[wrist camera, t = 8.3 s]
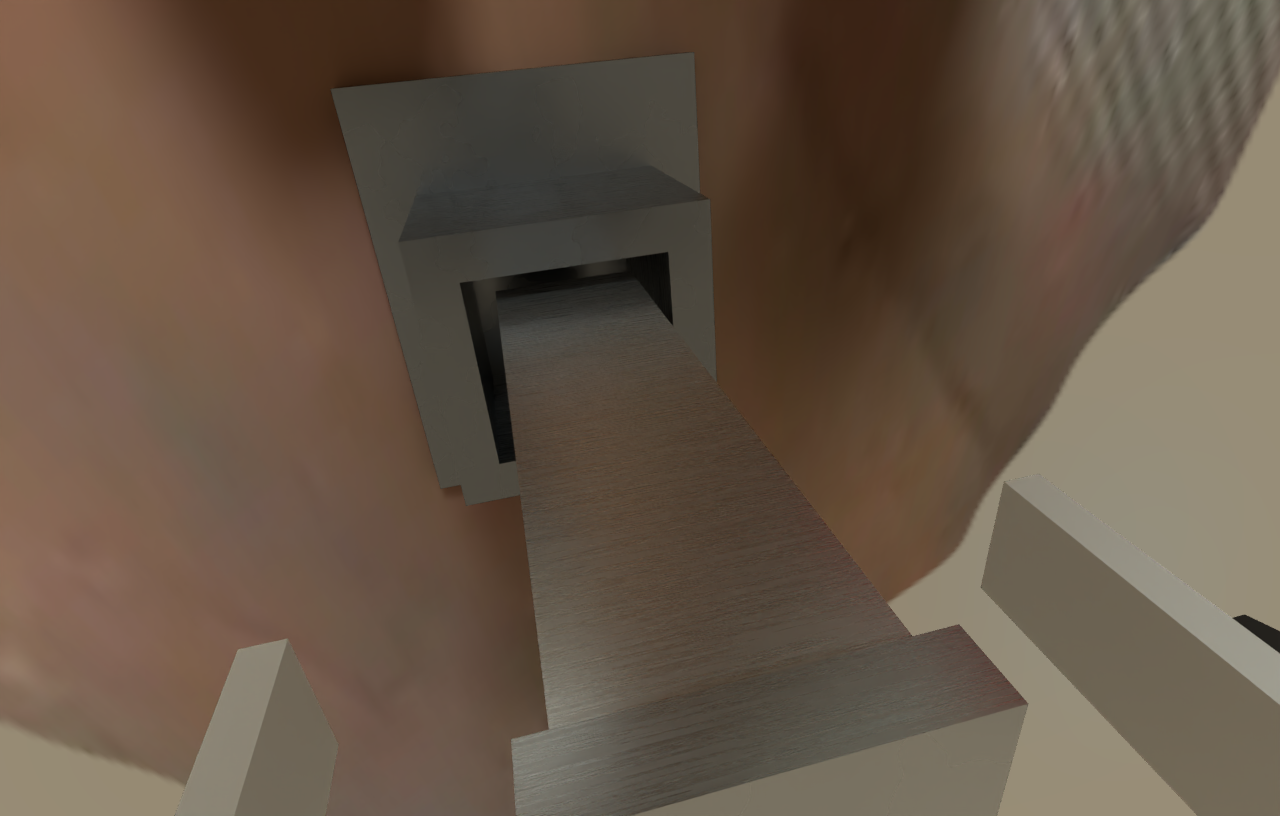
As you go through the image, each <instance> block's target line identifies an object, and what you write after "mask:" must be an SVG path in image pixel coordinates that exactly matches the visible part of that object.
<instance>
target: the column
mask: <svg viewBox="0 0 1280 816" xmlns="http://www.w3.org/2000/svg"><path fill="white" fill-rule="evenodd" d="M495 293H496V301H497V309H498V317H499V325H500V334H501V342H502V350H503V358H504V366H505V374H506V383H507V391H508V399H509V407H510V415H511V424H512V432H513V440H514V448H515V456H516V464H517V473H518V481H519V489H520V497H521V505H522V513H523V522H524V530H525V538H526V546H527V554H528V562H529V571H530V579H531V587H532V595H533V603H534V611H535V620H536V628H537V636H538V644H539V652H540V660H541V669H542V677H543V685H544V693H545V701H546V710H547V718H548V726H549V730H545V731H541V732H537V733H533V734H529V735H526V736H522V737H518V738H514V739H511V745H512V760H513V776H514V791H515V807H516V816H997V813H998V810H999V807H1000V803H1001V799H1002V796H1003V792H1004V789H1005V785H1006V782H1007V778H1008V774H1009V771H1010V767H1011V764H1012V760H1013V757H1014V753H1015V750H1016V746H1017V742H1018V739H1019V735H1020V732H1021V728H1022V724H1023V720H1024V717H1025V714H1026V710H1027V707H1028V703H1027V702H1026V700H1024V698H1023V697H1022V696H1021V695H1020V694H1019V693H1018V691H1017V690H1016V689H1015V688H1014V687H1013V686H1012V684H1011V683H1010V682H1009V681H1008V680H1007V679H1006V678H1005V676H1004V675H1003V674H1002V673H1001V672H1000V671H999V670H998V668H997V667H996V666H995V665H994V664H993V663H992V661H991V660H990V659H989V658H988V657H987V656H986V655H985V654H984V652H983V651H982V650H981V649H980V648H979V647H978V645H977V644H976V643H975V642H974V641H973V640H972V639H971V637H970V636H969V635H968V634H967V633H966V632H965V631H964V629H963V628H962V627H961V626H960V625H955V626H951V627H947V628H943V629H939V630H935V631H932V632H928V633H924V634H920V635H916V636H912V635H911V634H910V632H909V631H908V630H907V628H906V627H905V626H904V625H903V623H902V622H901V621H900V620H899V618H898V617H897V616H896V614H895V613H894V612H893V610H892V609H891V608H890V606H889V605H888V604H887V603H886V601H885V600H884V599H883V597H882V596H881V595H880V594H879V592H878V591H877V590H876V588H875V587H874V586H873V584H872V583H871V582H870V581H869V579H868V578H867V577H866V575H865V574H864V573H863V572H862V570H861V569H860V568H859V566H858V565H857V564H856V562H855V561H854V560H853V559H852V557H851V556H850V555H849V553H848V552H847V551H846V550H845V548H844V547H843V546H842V544H841V543H840V542H839V540H838V539H837V538H836V537H835V535H834V534H833V533H832V531H831V530H830V529H829V528H828V526H827V525H826V524H825V522H824V521H823V520H822V518H821V517H820V516H819V515H818V513H817V512H816V511H815V509H814V508H813V507H812V506H811V504H810V503H809V502H808V500H807V499H806V498H805V496H804V495H803V494H802V493H801V491H800V490H799V489H798V487H797V486H796V485H795V484H794V482H793V481H792V480H791V478H790V477H789V476H788V474H787V473H786V472H785V471H784V469H783V468H782V467H781V465H780V464H779V463H778V462H777V460H776V459H775V458H774V456H773V455H772V454H771V452H770V451H769V450H768V449H767V447H766V446H765V445H764V443H763V442H762V441H761V440H760V438H759V437H758V436H757V434H756V433H755V432H754V430H753V429H752V428H751V427H750V425H749V424H748V423H747V421H746V420H745V419H744V418H743V416H742V415H741V414H740V412H739V411H738V410H737V408H736V407H735V406H734V405H733V403H732V402H731V401H730V399H729V398H728V397H727V396H726V394H725V393H724V392H723V390H722V389H721V388H720V386H719V385H718V384H717V383H716V381H715V380H714V379H713V377H712V376H711V375H710V374H709V372H708V371H707V370H706V368H705V367H704V366H703V364H702V363H701V362H700V361H699V359H698V358H697V357H696V355H695V354H694V353H693V352H692V350H691V349H690V348H689V346H688V345H687V344H686V342H685V341H684V340H683V339H682V337H681V336H680V335H679V333H678V332H677V331H676V330H675V328H674V327H673V326H672V324H671V323H670V322H669V320H668V319H667V318H666V317H665V315H664V314H663V313H662V311H661V310H660V309H659V308H658V306H657V305H656V304H655V302H654V301H653V300H652V298H651V297H650V296H649V295H648V293H647V292H646V291H645V289H644V288H643V287H642V286H641V284H640V283H639V282H638V280H637V279H636V278H635V276H634V275H633V274H632V273H631V271H624V272H617V273H611V274H604V275H598V276H591V277H585V278H578V279H571V280H565V281H558V282H552V283H545V284H538V285H532V286H525V287H519V288H512V289H506V290H499V291H495Z"/></svg>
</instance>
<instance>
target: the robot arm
mask: <svg viewBox="0 0 1280 816" xmlns="http://www.w3.org/2000/svg"><path fill="white" fill-rule="evenodd" d="M981 588H982V589H983V590H984V591H985V593H986V594H987V595H988V596H989V597H990V598H991V599H992V600H993V601H994V602H995V603H996V604H997V605H998V606H999V607H1000V608H1001V609H1002V610H1003V611H1004V613H1005V614H1006V615H1007V616H1008V617H1009V618H1010V619H1011V620H1012V621H1013V622H1014V623H1015V624H1016V625H1017V626H1018V627H1019V628H1020V629H1021V630H1022V631H1023V632H1024V634H1025V635H1026V636H1027V637H1028V638H1029V639H1030V640H1031V641H1032V642H1033V643H1034V644H1035V645H1036V646H1037V647H1038V648H1039V649H1040V650H1041V651H1042V652H1043V654H1044V655H1046V657H1047V658H1048V659H1049V660H1050V661H1051V662H1052V663H1053V664H1054V665H1055V666H1056V667H1057V668H1058V669H1059V670H1060V671H1061V673H1062V674H1063V675H1064V676H1065V677H1066V678H1067V679H1068V680H1069V681H1070V682H1071V683H1072V684H1073V685H1074V686H1075V687H1076V688H1077V689H1078V690H1079V691H1080V692H1081V694H1082V695H1083V696H1084V697H1085V698H1086V699H1087V700H1088V701H1089V702H1090V703H1091V704H1092V705H1093V706H1094V707H1095V708H1096V709H1097V710H1098V711H1099V713H1100V714H1101V715H1102V716H1103V717H1104V718H1105V719H1106V720H1107V721H1108V722H1109V723H1110V724H1111V725H1112V726H1113V727H1114V728H1115V729H1116V730H1117V731H1118V733H1119V734H1120V735H1121V736H1122V737H1123V738H1124V739H1125V740H1126V741H1127V742H1128V743H1129V744H1130V745H1131V746H1132V747H1133V748H1134V749H1135V750H1136V751H1137V752H1138V753H1139V755H1140V756H1141V757H1142V758H1143V759H1144V760H1145V761H1146V762H1147V763H1148V764H1149V765H1150V766H1151V767H1152V768H1153V769H1154V770H1155V771H1156V772H1157V774H1158V775H1159V776H1160V777H1161V778H1162V779H1163V780H1164V781H1165V782H1166V783H1167V784H1168V785H1169V786H1170V787H1171V788H1172V789H1173V790H1174V791H1175V792H1176V794H1177V795H1178V796H1179V797H1180V798H1181V799H1182V800H1183V801H1184V802H1185V803H1186V804H1187V805H1188V806H1189V807H1190V808H1191V809H1192V810H1193V811H1194V812H1195V813H1196V815H1197V816H1280V631H1278V630H1276V629H1274V628H1272V627H1270V626H1268V625H1265V624H1264V623H1261V622H1259V621H1257V620H1255V619H1253V618H1251V617H1249V616H1247V615H1241V616H1237V617H1234V618H1231V617H1230V616H1229V615H1227V614H1226V613H1225V612H1223V611H1222V610H1221V609H1219V608H1218V607H1217V606H1215V605H1214V604H1213V603H1211V602H1210V601H1209V600H1207V599H1206V598H1204V597H1203V596H1202V595H1200V594H1199V593H1198V592H1197V591H1195V590H1194V589H1193V588H1191V587H1190V586H1188V585H1187V584H1186V583H1184V582H1183V581H1181V580H1180V579H1179V578H1178V577H1176V576H1175V575H1174V574H1172V573H1171V572H1170V571H1168V570H1167V569H1166V568H1164V567H1163V566H1162V565H1160V564H1159V563H1157V562H1156V561H1155V560H1154V559H1152V558H1151V557H1150V556H1148V555H1147V554H1146V553H1144V552H1143V551H1142V550H1140V549H1139V548H1138V547H1136V546H1135V545H1134V544H1132V543H1131V542H1129V541H1128V540H1127V539H1125V538H1124V537H1123V536H1122V535H1120V534H1119V533H1117V532H1116V531H1115V530H1113V529H1112V528H1110V527H1109V526H1108V525H1107V524H1105V523H1104V522H1103V521H1101V520H1100V519H1099V518H1097V517H1096V516H1095V515H1093V514H1092V513H1091V512H1089V511H1088V510H1087V509H1085V508H1084V507H1083V506H1081V505H1080V504H1079V503H1077V502H1076V501H1075V500H1073V499H1072V498H1071V497H1069V496H1068V495H1067V494H1065V493H1064V492H1063V491H1061V490H1060V489H1059V488H1057V487H1056V486H1055V485H1053V484H1052V483H1050V482H1049V481H1048V480H1046V479H1045V478H1044V477H1042V476H1041V475H1040V474H1036V475H1032V476H1027V477H1023V478H1018V479H1013V480H1009V481H1004V484H1003V489H1002V493H1001V497H1000V502H999V507H998V512H997V516H996V520H995V525H994V530H993V534H992V538H991V543H990V548H989V552H988V557H987V561H986V566H985V570H984V575H983V579H982V585H981ZM338 745H339V744H338V742H337V740H336V738H335V736H334V734H333V732H332V730H331V728H330V726H329V723H328V721H327V719H326V717H325V715H324V713H323V711H322V709H321V707H320V705H319V703H318V700H317V698H316V696H315V694H314V692H313V690H312V688H311V686H310V684H309V682H308V680H307V677H306V675H305V673H304V671H303V669H302V667H301V665H300V663H299V661H298V659H297V657H296V654H295V652H294V650H293V648H292V646H291V644H290V642H289V640H288V639H283V640H279V641H274V642H270V643H265V644H260V645H256V646H251V647H247V648H242V649H238V650H237V653H236V656H235V658H234V661H233V664H232V666H231V669H230V671H229V674H228V677H227V679H226V682H225V685H224V687H223V690H222V692H221V695H220V698H219V700H218V703H217V706H216V708H215V711H214V713H213V716H212V719H211V721H210V724H209V727H208V729H207V732H206V734H205V737H204V740H203V742H202V745H201V748H200V750H199V753H198V755H197V758H196V761H195V763H194V766H193V769H192V771H191V774H190V776H189V779H188V782H187V784H186V787H185V790H184V792H183V795H182V797H181V800H180V803H179V805H178V808H177V810H176V813H175V816H326V810H327V805H328V799H329V794H330V789H331V783H332V778H333V772H334V767H335V761H336V756H337V751H338Z"/></svg>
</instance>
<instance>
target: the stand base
mask: <svg viewBox="0 0 1280 816" xmlns="http://www.w3.org/2000/svg"><path fill="white" fill-rule="evenodd" d="M331 93H332V97H333V100H334V104H335V107H336V111H337V115H338V118H339V122H340V126H341V129H342V133H343V136H344V140H345V144H346V147H347V151H348V155H349V158H350V162H351V165H352V169H353V173H354V176H355V180H356V184H357V187H358V191H359V194H360V198H361V202H362V205H363V209H364V213H365V216H366V220H367V223H368V227H369V231H370V234H371V238H372V242H373V245H374V249H375V253H376V256H377V260H378V263H379V267H380V271H381V274H382V278H383V282H384V285H385V289H386V292H387V296H388V300H389V303H390V307H391V311H392V314H393V318H394V321H395V325H396V329H397V332H398V336H399V340H400V343H401V347H402V350H403V354H404V358H405V361H406V365H407V369H408V372H409V376H410V379H411V383H412V387H413V390H414V394H415V398H416V401H417V405H418V408H419V412H420V416H421V419H422V423H423V427H424V430H425V434H426V437H427V441H428V445H429V448H430V452H431V456H432V459H433V463H434V466H435V470H436V474H437V477H438V481H439V485H440V488H441V489H442V488H447V487H452V486H457V485H461V488H462V492H463V496H464V500H465V503H466V506H468V505H473V504H478V503H483V502H488V501H493V500H498V499H503V498H508V497H513V496H518V495H520V489H519V481H518V473H517V464H516V456H515V448H514V440H513V432H512V424H511V415H510V407H509V399H508V391H507V383H506V374H505V366H504V358H503V350H502V342H501V334H500V325H499V317H498V309H497V301H496V293H495V291H499V290H506V289H512V288H519V287H525V286H532V285H538V284H545V283H552V282H558V281H565V280H571V279H578V278H585V277H591V276H598V275H604V274H611V273H617V272H624V271H631V273H632V274H633V275H634V276H635V278H636V279H637V280H638V282H639V283H640V284H641V286H642V287H643V288H644V289H645V291H646V292H647V293H648V295H649V296H650V297H651V298H652V300H653V301H654V302H655V304H656V305H657V306H658V308H659V309H660V310H661V311H662V313H663V314H664V315H665V317H666V318H667V319H668V320H669V322H670V323H671V324H672V326H673V327H674V328H675V330H676V331H677V332H678V333H679V335H680V336H681V337H682V339H683V340H684V341H685V342H686V344H687V345H688V346H689V348H690V349H691V350H692V352H693V353H694V354H695V355H696V357H697V358H698V359H699V361H700V362H701V363H702V364H703V366H704V367H705V368H706V370H707V371H708V372H709V374H710V375H711V376H712V377H713V379H714V380H715V381H716V383H717V378H716V350H715V322H714V294H713V266H712V238H711V210H710V199H709V198H707V197H705V196H704V195H702V194H700V179H699V155H698V132H697V108H696V84H695V61H694V52H687V53H677V54H667V55H657V56H647V57H637V58H627V59H617V60H608V61H598V62H588V63H578V64H568V65H558V66H548V67H539V68H529V69H519V70H509V71H499V72H489V73H479V74H469V75H460V76H450V77H440V78H430V79H420V80H410V81H400V82H390V83H381V84H371V85H361V86H351V87H341V88H333V89H331Z"/></svg>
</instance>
